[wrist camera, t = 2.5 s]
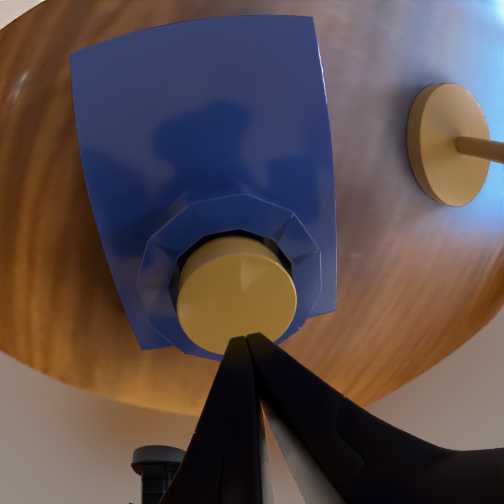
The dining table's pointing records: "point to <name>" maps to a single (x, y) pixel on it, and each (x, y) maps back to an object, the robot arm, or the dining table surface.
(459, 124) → the table lamp
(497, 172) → the dining table surface
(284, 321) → the lamp switch
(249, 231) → the switch base
